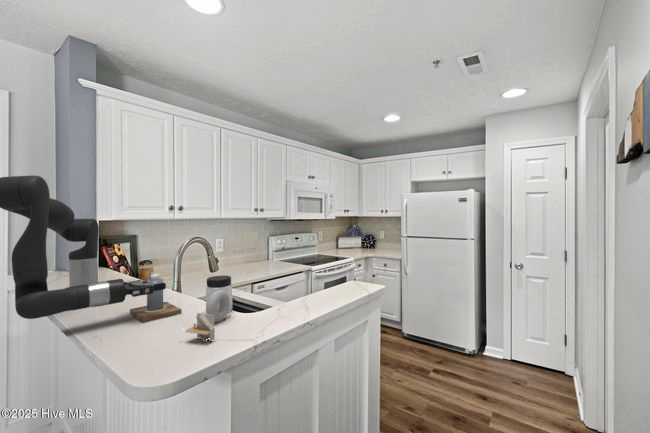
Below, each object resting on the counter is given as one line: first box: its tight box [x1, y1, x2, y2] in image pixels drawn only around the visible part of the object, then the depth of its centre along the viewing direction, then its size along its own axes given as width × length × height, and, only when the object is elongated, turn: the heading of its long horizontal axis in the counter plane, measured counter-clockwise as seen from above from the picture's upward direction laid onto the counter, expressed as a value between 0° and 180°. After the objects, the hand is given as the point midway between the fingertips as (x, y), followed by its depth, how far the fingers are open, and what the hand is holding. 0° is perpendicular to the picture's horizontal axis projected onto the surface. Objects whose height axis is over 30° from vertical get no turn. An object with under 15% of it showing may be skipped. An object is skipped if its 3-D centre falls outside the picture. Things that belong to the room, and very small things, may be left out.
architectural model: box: [184, 312, 216, 342], centre depth 83 cm, size 3×7×7 cm, turn 72°
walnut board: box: [129, 301, 182, 323], centre depth 107 cm, size 14×12×2 cm
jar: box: [205, 275, 233, 314], centre depth 108 cm, size 9×8×12 cm
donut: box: [205, 290, 230, 323], centre depth 98 cm, size 10×3×10 cm, turn 163°
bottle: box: [146, 273, 164, 311], centre depth 107 cm, size 5×5×12 cm
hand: (161, 283), depth 108 cm, fingers open, 8 cm apart
